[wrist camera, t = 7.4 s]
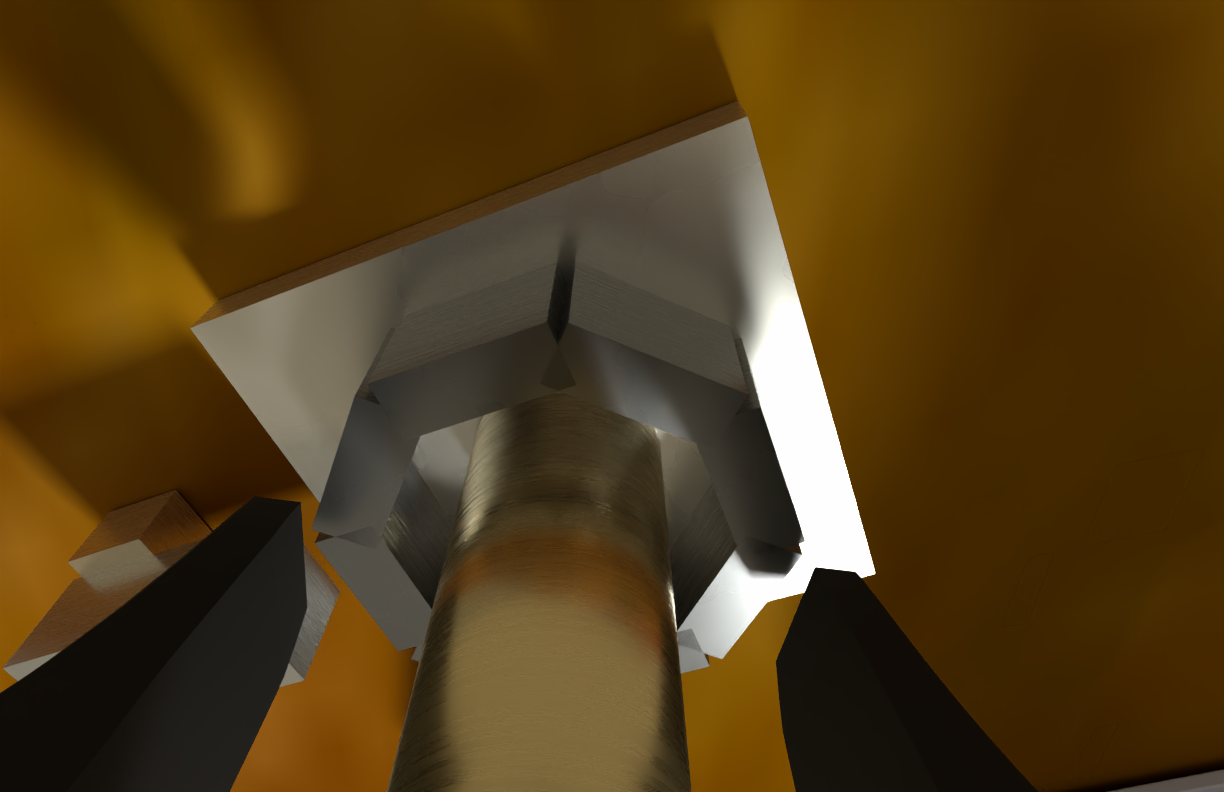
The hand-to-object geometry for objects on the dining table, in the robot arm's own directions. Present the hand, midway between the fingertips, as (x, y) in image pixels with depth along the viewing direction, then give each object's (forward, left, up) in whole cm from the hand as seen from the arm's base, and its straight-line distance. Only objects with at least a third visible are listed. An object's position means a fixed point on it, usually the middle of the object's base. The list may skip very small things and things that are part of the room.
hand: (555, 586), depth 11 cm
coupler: (0, 0, -3) cm, 3 cm away
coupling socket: (+2, +3, -4) cm, 6 cm away
